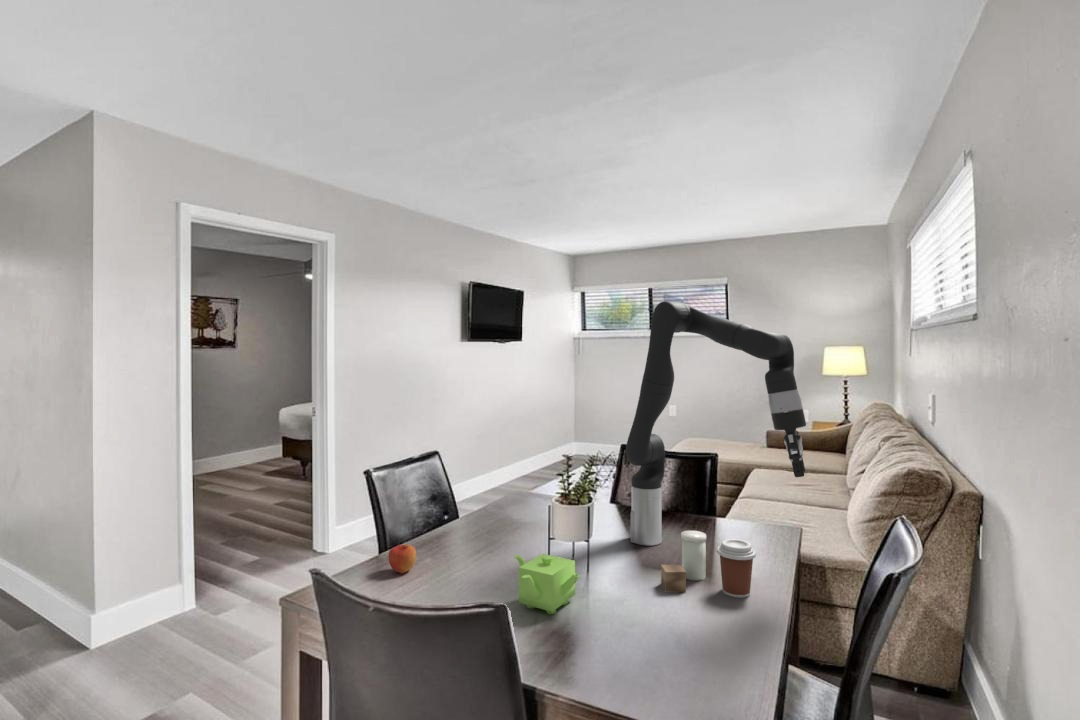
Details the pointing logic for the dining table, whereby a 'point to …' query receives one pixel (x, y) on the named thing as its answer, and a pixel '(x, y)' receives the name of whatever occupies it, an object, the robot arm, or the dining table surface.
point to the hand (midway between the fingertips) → (800, 474)
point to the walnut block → (673, 578)
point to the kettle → (546, 582)
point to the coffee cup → (736, 567)
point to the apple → (402, 558)
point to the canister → (694, 554)
